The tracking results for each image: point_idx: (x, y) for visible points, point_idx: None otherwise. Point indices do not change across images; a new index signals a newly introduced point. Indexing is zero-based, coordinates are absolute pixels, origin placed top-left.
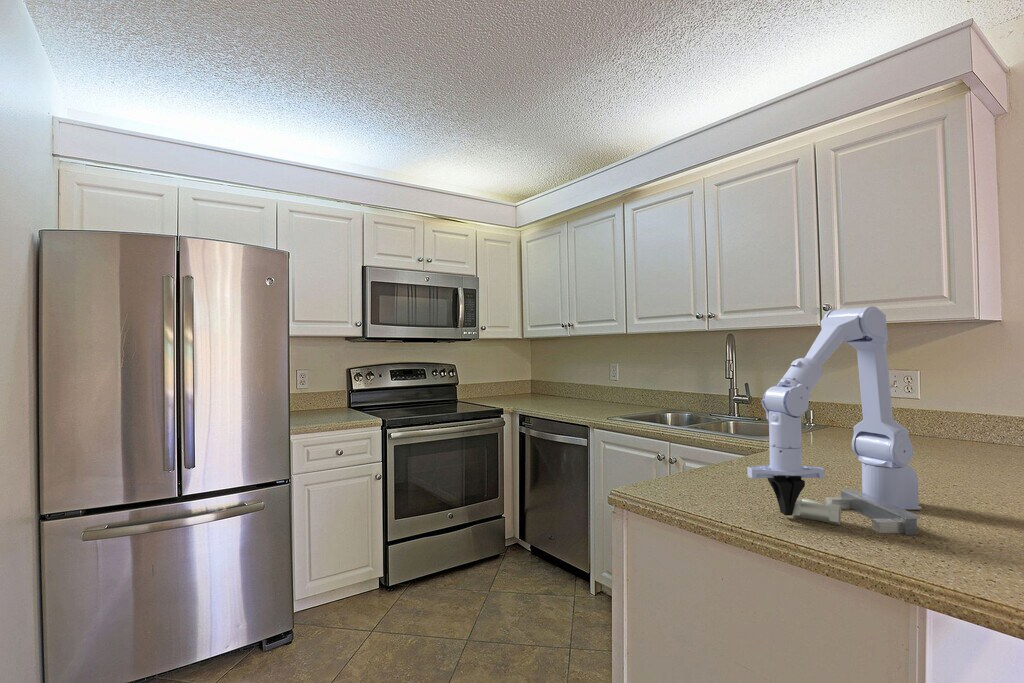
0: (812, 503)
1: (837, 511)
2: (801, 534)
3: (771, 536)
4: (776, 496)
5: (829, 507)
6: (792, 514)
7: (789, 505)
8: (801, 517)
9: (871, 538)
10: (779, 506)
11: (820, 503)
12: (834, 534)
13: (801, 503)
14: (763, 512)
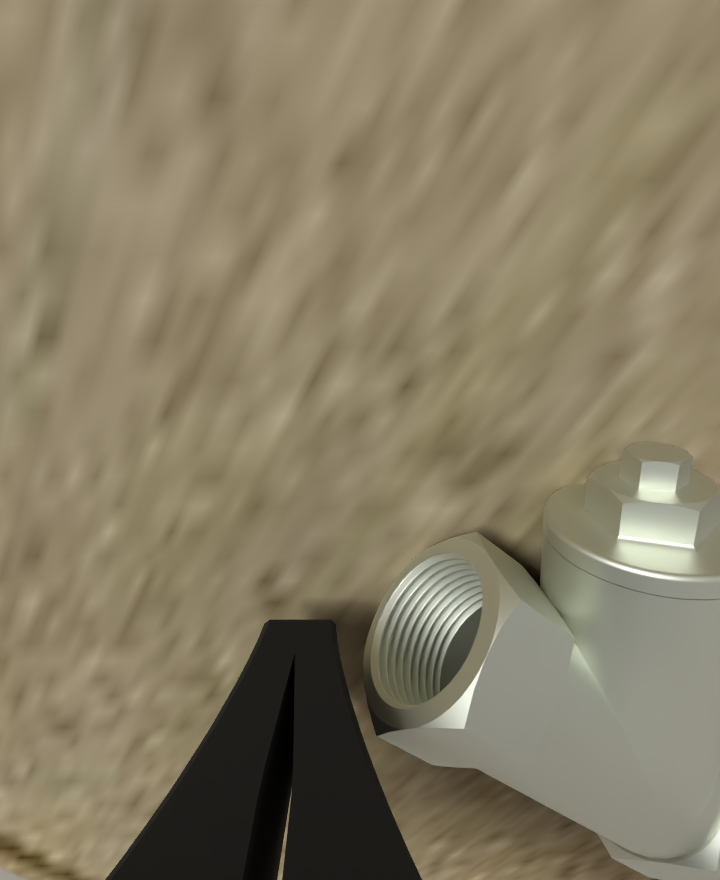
0: (576, 804)
1: (654, 875)
2: None
3: (46, 859)
4: (182, 782)
5: (649, 864)
6: (367, 640)
7: (285, 820)
8: (441, 626)
9: (604, 861)
10: (248, 666)
11: (671, 795)
12: (448, 830)
13: (474, 767)
14: (164, 454)
